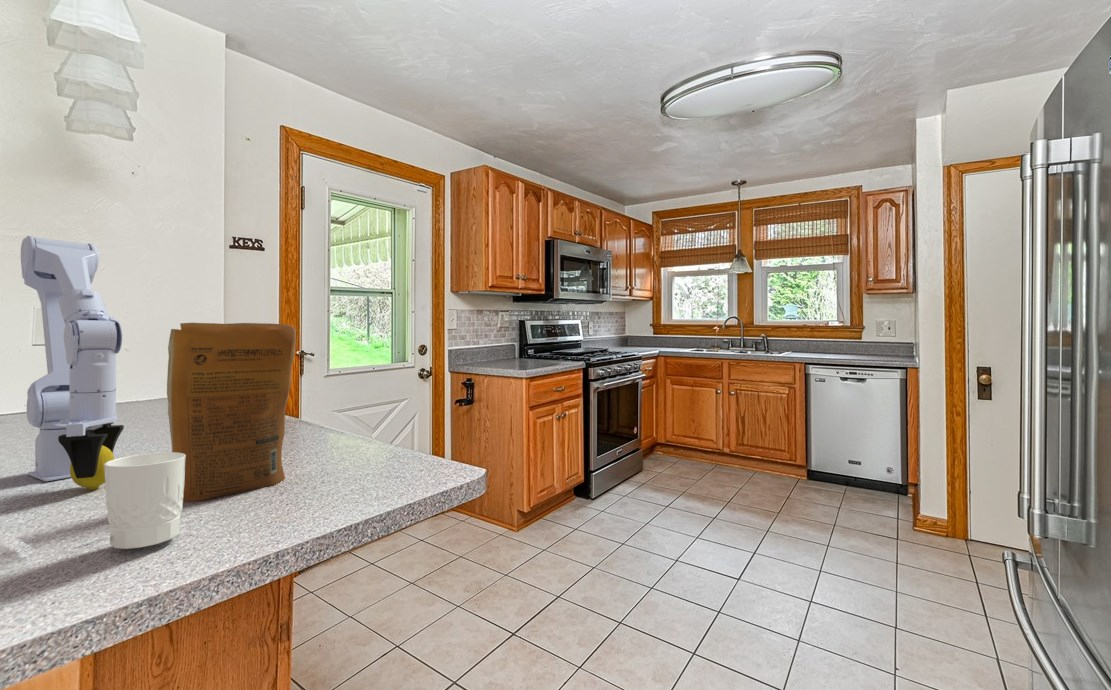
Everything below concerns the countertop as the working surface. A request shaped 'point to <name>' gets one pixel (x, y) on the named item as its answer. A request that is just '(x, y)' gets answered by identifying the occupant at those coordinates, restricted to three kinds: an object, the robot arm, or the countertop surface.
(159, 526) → the white cup
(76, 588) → the countertop surface
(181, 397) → the pancake mix bag
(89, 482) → the lemon
